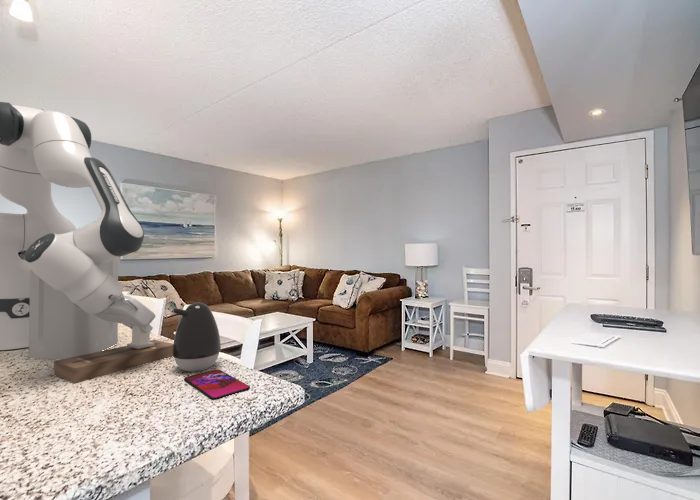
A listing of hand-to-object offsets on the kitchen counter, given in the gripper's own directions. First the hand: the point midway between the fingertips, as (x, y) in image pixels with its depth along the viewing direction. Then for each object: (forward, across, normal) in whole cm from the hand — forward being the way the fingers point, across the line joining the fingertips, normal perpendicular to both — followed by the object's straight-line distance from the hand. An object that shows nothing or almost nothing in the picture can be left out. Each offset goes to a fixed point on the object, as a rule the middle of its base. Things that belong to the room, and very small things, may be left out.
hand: (143, 329), depth 86 cm
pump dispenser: (+7, -19, +4) cm, 20 cm away
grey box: (+1, +21, +10) cm, 23 cm away
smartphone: (+4, -31, +7) cm, 32 cm away
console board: (+1, 0, +9) cm, 9 cm away
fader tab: (+2, 0, +3) cm, 4 cm away
